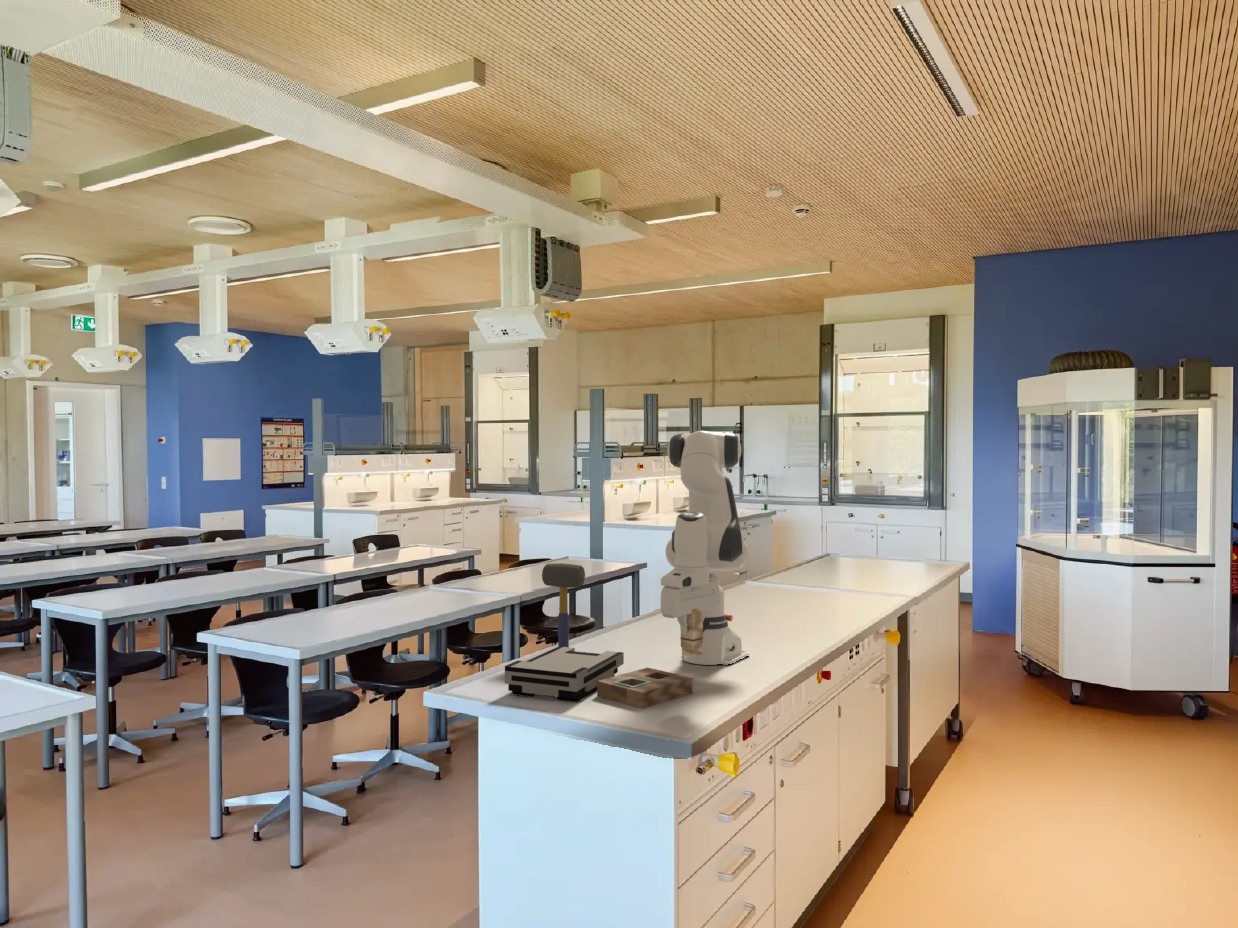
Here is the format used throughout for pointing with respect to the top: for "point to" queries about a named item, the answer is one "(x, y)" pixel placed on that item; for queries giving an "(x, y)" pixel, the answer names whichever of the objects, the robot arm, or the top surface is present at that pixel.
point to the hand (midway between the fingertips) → (691, 630)
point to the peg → (693, 634)
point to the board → (644, 687)
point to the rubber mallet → (563, 592)
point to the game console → (562, 673)
